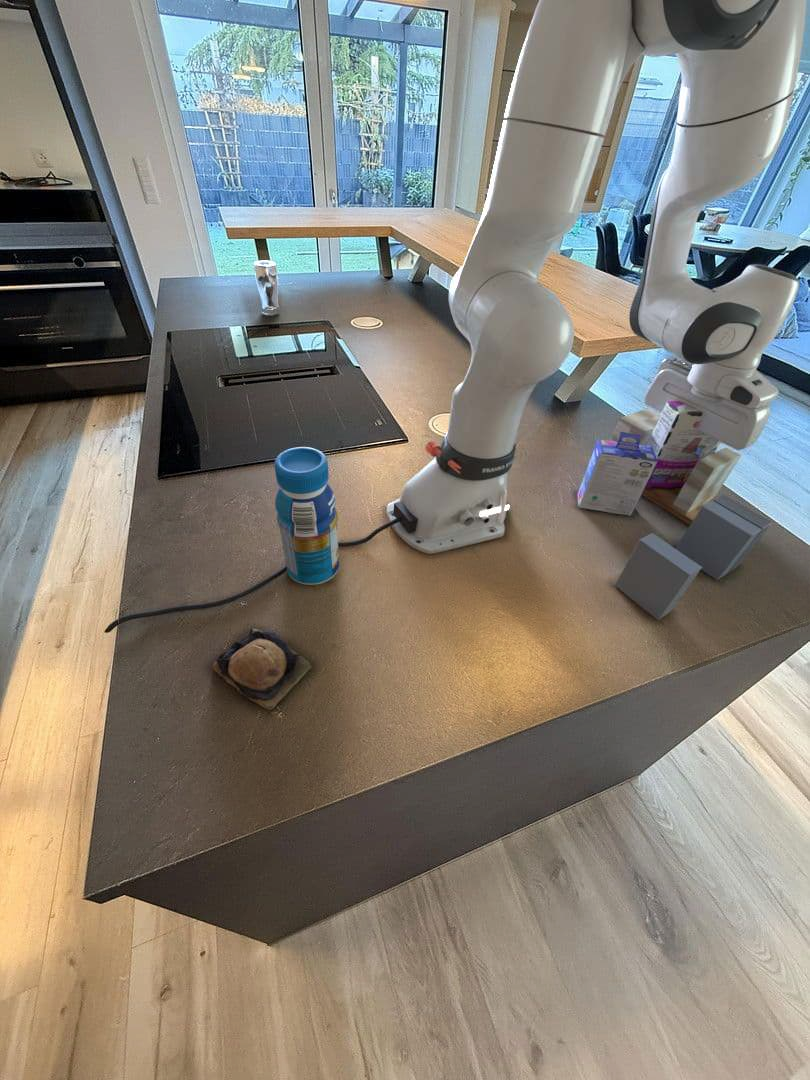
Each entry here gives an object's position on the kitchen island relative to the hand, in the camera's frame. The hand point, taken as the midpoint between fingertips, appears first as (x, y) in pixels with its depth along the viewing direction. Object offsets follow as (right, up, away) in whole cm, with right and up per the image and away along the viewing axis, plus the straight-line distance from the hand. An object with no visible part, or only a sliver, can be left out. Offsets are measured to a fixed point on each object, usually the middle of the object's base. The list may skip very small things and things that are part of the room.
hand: (681, 446), depth 87 cm
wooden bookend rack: (-1, -7, +7) cm, 10 cm away
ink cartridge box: (-14, -11, +2) cm, 18 cm away
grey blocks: (-8, -24, -12) cm, 28 cm away
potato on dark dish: (-71, -34, -28) cm, 84 cm away
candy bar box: (0, -6, +6) cm, 8 cm away
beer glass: (-98, +60, +70) cm, 135 cm away
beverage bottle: (-67, -22, -15) cm, 72 cm away
